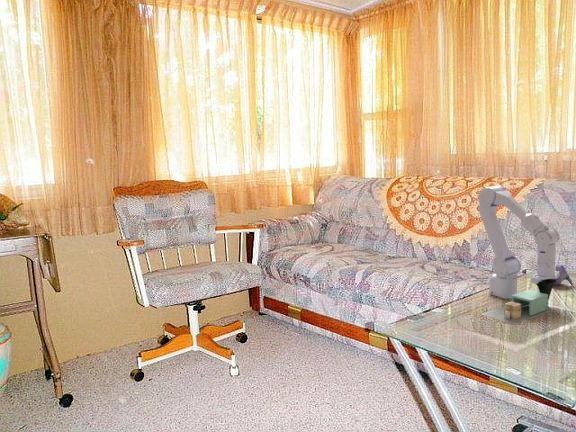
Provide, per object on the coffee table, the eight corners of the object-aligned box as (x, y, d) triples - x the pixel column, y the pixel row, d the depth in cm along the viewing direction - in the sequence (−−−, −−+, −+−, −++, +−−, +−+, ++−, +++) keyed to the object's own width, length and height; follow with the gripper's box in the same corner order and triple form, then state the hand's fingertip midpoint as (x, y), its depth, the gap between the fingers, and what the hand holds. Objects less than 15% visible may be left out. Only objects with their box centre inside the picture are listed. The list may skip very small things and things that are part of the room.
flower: (577, 268, 195) (554, 258, 196) (580, 281, 188) (556, 271, 189) (563, 282, 201) (541, 272, 202) (565, 296, 194) (542, 285, 195)
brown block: (504, 316, 161) (504, 303, 160) (510, 314, 162) (511, 301, 162) (514, 319, 157) (514, 306, 157) (520, 316, 159) (520, 304, 159)
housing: (511, 309, 165) (511, 295, 165) (528, 303, 170) (528, 289, 170) (530, 315, 159) (531, 300, 158) (547, 309, 164) (548, 294, 164)
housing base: (480, 317, 164) (480, 307, 163) (517, 304, 175) (517, 294, 174) (515, 328, 153) (515, 317, 152) (552, 314, 164) (552, 303, 163)
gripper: (545, 268, 160) (544, 306, 162) (568, 261, 168) (567, 297, 170) (525, 264, 166) (524, 300, 168) (549, 257, 174) (547, 292, 176)
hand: (544, 298), depth 169 cm, fingers closed
